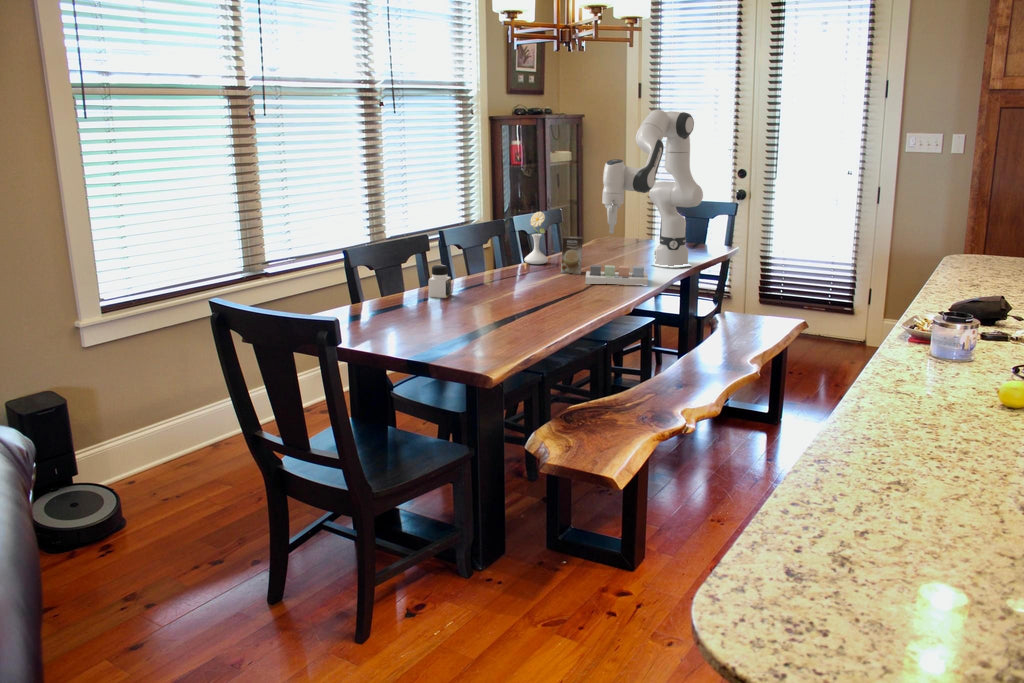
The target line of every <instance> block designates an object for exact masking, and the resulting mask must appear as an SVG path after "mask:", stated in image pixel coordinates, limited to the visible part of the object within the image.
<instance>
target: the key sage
mask: <svg viewBox="0 0 1024 683" xmlns="http://www.w3.org/2000/svg"><path fill="white" fill-rule="evenodd" d="M603 272H604V276H615V272H616V265H609V264H607V265H604V271H603Z"/></svg>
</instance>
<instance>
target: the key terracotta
mask: <svg viewBox="0 0 1024 683" xmlns="http://www.w3.org/2000/svg"><path fill="white" fill-rule="evenodd" d="M618 272H619V274H618V276H628V277H629V273H630V265H619V266H618Z"/></svg>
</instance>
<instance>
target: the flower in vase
mask: <svg viewBox="0 0 1024 683" xmlns="http://www.w3.org/2000/svg"><path fill="white" fill-rule="evenodd" d="M544 221H546V215H545V214H544V212H542V211H536V212H535V213H533V214H532V216H531V217H530V226H532V229H533V230H534V231H535V232H536V233H532V234H531V237H532V238H533V250H532V251H531V252H529V254H527V255H526V256H525V257H524V259H523V260H524V262H525V263H527V264H529V265H530V264H531V265H543V264H546V263H548V262H549V259H548V257H547V256H546V255H545V254H544V253H543V252H541V250H540V239H541V237H542V236H543V234H545V233H546V230H545V228H544V227H542V224H543V223H544ZM537 227H540V228H539V230H538V229H536V228H537Z"/></svg>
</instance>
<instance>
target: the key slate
mask: <svg viewBox="0 0 1024 683" xmlns="http://www.w3.org/2000/svg"><path fill="white" fill-rule="evenodd" d="M644 271H645V268H644V266H640V265H639V266H635V265H633V266H632V273H633V277H643V275H644V273H645V272H644Z"/></svg>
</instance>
